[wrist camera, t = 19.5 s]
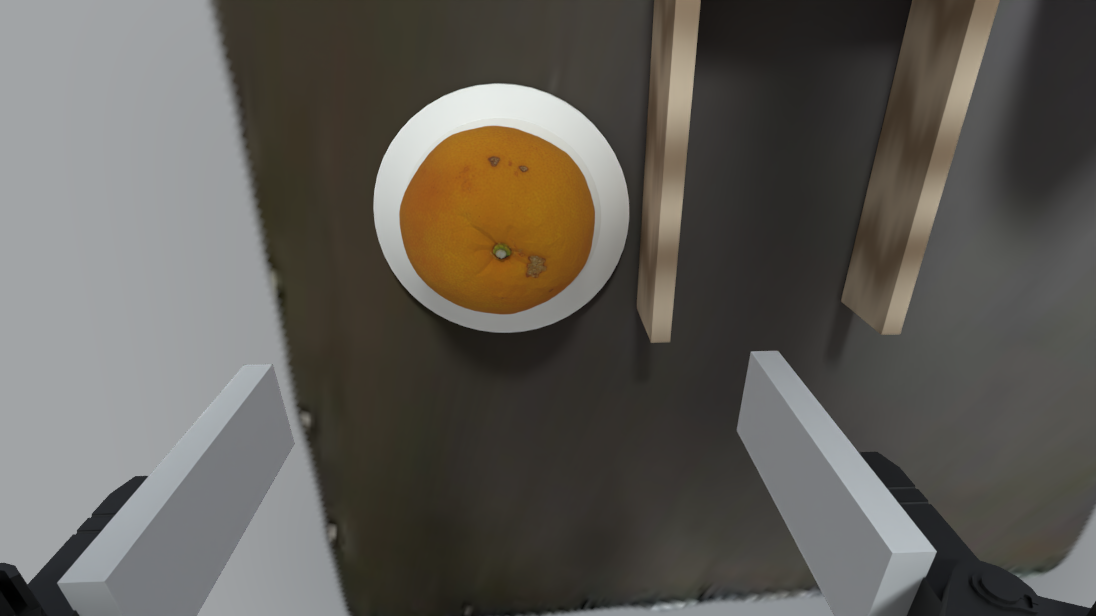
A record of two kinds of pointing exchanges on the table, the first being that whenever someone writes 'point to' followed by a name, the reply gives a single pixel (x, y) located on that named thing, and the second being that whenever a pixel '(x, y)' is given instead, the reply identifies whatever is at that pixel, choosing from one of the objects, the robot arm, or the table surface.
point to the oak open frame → (897, 175)
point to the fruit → (497, 220)
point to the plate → (532, 116)
